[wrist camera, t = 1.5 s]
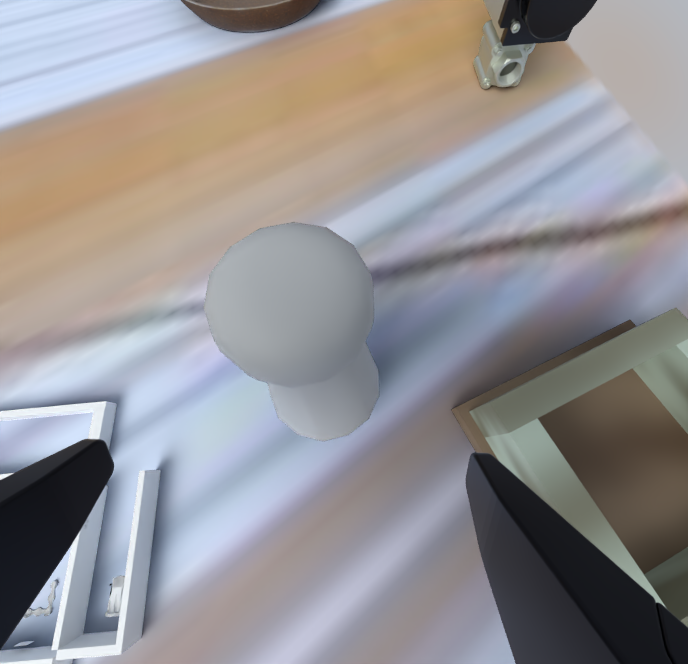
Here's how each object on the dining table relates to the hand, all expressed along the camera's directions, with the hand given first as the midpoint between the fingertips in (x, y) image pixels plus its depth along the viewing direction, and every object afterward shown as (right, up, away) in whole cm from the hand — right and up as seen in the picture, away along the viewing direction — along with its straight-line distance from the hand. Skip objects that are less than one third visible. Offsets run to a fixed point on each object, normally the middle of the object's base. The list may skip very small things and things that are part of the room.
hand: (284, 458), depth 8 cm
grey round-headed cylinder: (+1, -1, +12) cm, 12 cm away
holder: (+16, -4, +9) cm, 19 cm away
